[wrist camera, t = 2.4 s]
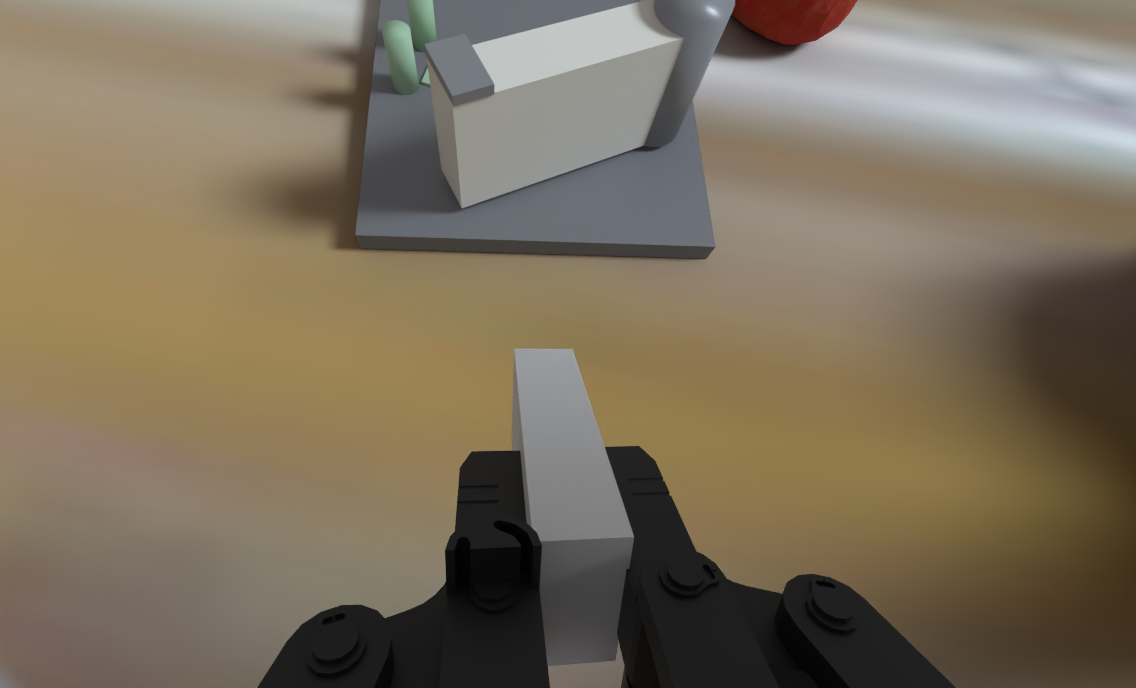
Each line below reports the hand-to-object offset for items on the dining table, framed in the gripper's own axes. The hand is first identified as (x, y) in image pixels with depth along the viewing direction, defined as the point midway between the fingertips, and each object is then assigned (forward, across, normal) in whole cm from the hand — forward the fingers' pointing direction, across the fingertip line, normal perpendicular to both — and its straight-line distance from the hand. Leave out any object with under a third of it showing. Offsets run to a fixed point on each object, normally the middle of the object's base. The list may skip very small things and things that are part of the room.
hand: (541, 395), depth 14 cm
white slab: (+24, +4, +4) cm, 24 cm away
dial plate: (+28, +2, +6) cm, 28 cm away
